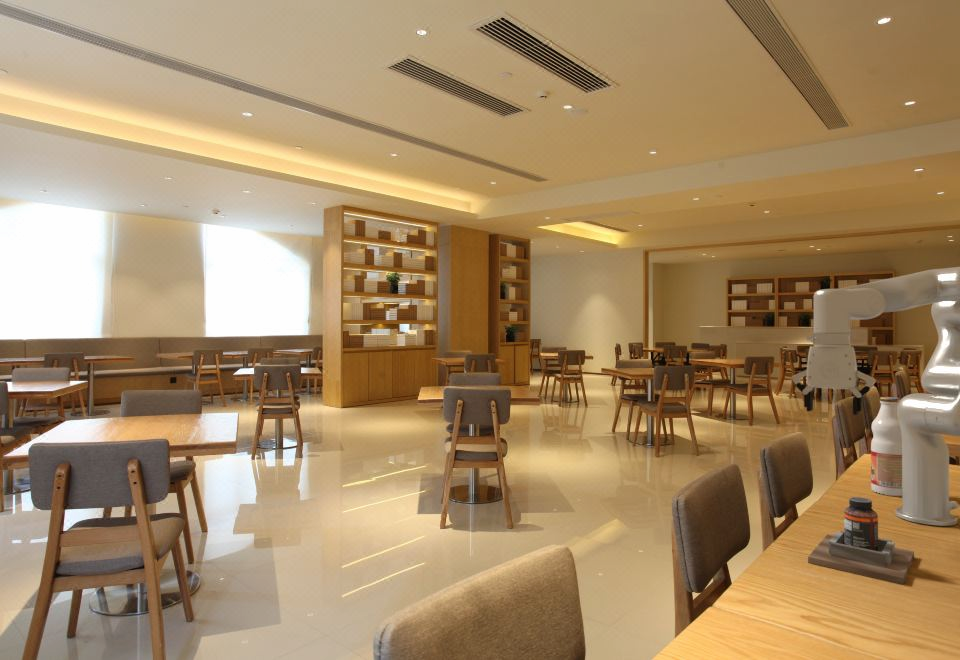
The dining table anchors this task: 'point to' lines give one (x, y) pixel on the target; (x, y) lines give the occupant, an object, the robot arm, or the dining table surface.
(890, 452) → the fruit juice
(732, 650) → the dining table surface
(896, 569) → the bottle holder
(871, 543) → the supplement bottle
